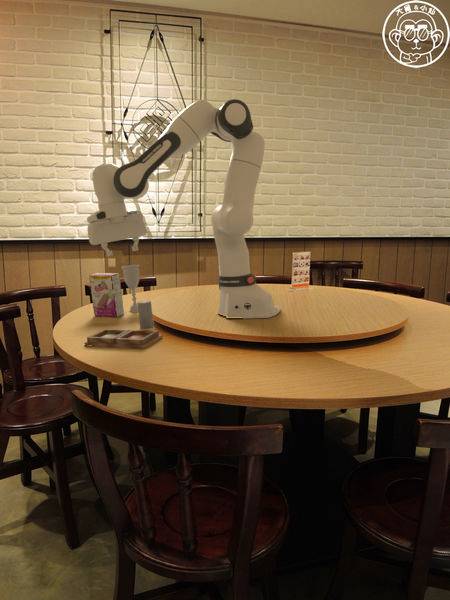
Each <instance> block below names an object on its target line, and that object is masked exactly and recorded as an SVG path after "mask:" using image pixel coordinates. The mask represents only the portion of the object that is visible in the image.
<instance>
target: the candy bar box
mask: <svg viewBox="0 0 450 600" xmlns="http://www.w3.org/2000/svg"><path fill="white" fill-rule="evenodd" d="M88 277H89V285H90V294H91V300H92V301H91V302H92V308H93V316H94V315H95V316H94V317H102V316H104V317H106V318H119V317H122V316H124V315H125V312H124V311H125V310H124V309H125V308H124V302H123V301H124V300H123V295H122V294H123V293H122V285H121V279H120V273H118V272H116V273H113V272H108V273H107V272H103V273H102V272H96V273H92V274H89V275H88Z"/></svg>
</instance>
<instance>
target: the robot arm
mask: <svg viewBox="0 0 450 600" xmlns="http://www.w3.org/2000/svg"><path fill="white" fill-rule="evenodd" d="M253 129H254V124H253V120H252V115H251V111H250V109H249V107H248V105H247V103H245V102H244V101H242V100H240V99H229V100H227V101H225V102H224V103H223V104H222V105H221V106H220V107H217V108H216V107H214V105H213V104H212V103H210V102H209V101H208V100H206V99H197V100H195V101H194V102H193V103H191V104H190V105H188V106H187V107H186V108H184V109H183V110H182V111H181V112H180V113H178V115H177V116H176V117H175V118H174V119H173V120H172V121H171V122H170V123H169V125H168V126H167V127H166V129H165V130H164V131H163V132H162V134H161V135H160V136H159V138H158V139H157V140H156V141H155V142H154V143H153V144H152V145H150V147H148V148H147V149H146V150H145V151H144V152H143V153H141V155H140V156H139V157H137V159H135V160H133V161H131V162H128V163H125V164H123V165H120V166H119V165H116V164H114V163H112V162H107V163H103V164H100V165H98V166H96V167H95V168H94V169H93V171H92V176H91V177H92V185H93V189H94V194H95V196H96V198H97V205H98V210H97V211H96V212H94V213H92V214H91V215H89V216H88V217H86V222H87V223H88V225H87V236H88V242H89V244H90V245H92V246H97V245H101V248H102V249H103V250H104V252H106V256H107V257H111V256H114V254H113V250H110V249H109V248H108V243H113V242H118V241H123V240H128V239H132V241H133V245H132V246H131V250H132V252H137V251H139V247H138V245H139V241H140V239H139V238H140V237H144V236H146V235H147V233H148V230H147V227H146V224H145V221H144V216H143V213H142V212H141V211H139V210H138V209H134V210H127V208H126V207H127V206H126V203H125V200H126V199H128V200H129V199H130V200H131V199H132V200H138V199H141V198H143V197H144V196H146V194H147V193H148V191H149V189H150V187H149V186H150V185H149V180H148V179H150V177H151V175H153V173H154V172H155V171H157V170H158V169H159V168H160V167H161V166H162V165H163V163H165V162H167V160H168V159H171V158H172V157H176V156H181V155H185V154H187V153H189V152H190V151H192V150H193V149H194V148H195V147H197V145H199V143H200V142H201V141H202V140H204V138H205V137H206V136H208V135H210V134H211V135H213V136H215V137H217V138H218V139H220V140H221V141H224V142H225V143H226V142H227V143H232V152H231V155H230V160H229V164H228V167H227V171H226V175H225V179H224V184H223V186H224V190H223V199H222V200H223V201H222V204H221V205H218V206H217V207H216V208H215V209H214V210H213V212H212V213H211V217H210V218H211V219H210V221H211V226H212V231H213V237H214V242H215V247H216V251H217V259H218V260H217V262H218V271H219V272H218V273H219V274H218V281H217V282H218V289H219V303H218V305H219V306H218V311H217V313H218V312H219V313H221V314H224V315H225V316H228V317H243V319H267V318H272V317H275V316H277V315H278V314H279V313H280V311H281V308H280V306H279V305H275V304H274V299H273V297H272V294H271V293H270V292H269V291H267V290H265V288H262V287H261V286H260V285H259V284H257V274H255V275H254V274H253V273H251V267H250V252H249V248H248V245H247V243H246V239H245V234H246V233H248V232H249V231H250V230H251V229H252V227H253V225H254V216H253V215H254V204H255V194H256V189H257V185H258V182H259V178H260V173H261V170H262V165H263V161H264V156H265V155H264V154H265V148H266V147H265V145H266V143H265V139H264V137H263V136H262V135H261V134H260V133H258V132H256V131H253Z"/></svg>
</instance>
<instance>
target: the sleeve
mask: <svg viewBox="0 0 450 600" xmlns="http://www.w3.org/2000/svg"><path fill="white" fill-rule="evenodd" d="M136 303H137V305H138V312H137V313H138V319H139V320H138V321H139V330H154V331H156V330H155V325H154V318H153V317H154V316H153V307H152V301H151V300H142V301H139V302H136Z"/></svg>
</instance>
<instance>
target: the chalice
mask: <svg viewBox="0 0 450 600" xmlns="http://www.w3.org/2000/svg"><path fill="white" fill-rule="evenodd" d="M139 267H140V264H129V265H123V266H121V269H122V273H123V280H124V282H125V284H126V286H127V287H128V289H129V290H131V291H132V293H131V296H132V298H131V299H132V301H133V304H132V305H131V306H130V308H129V311H128V312H129V313H138V305H137V303H138V302H137V297H136V295H137V294H136V292H135V290H136V289H137V288H138V286H139V283H140V268H139Z"/></svg>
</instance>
